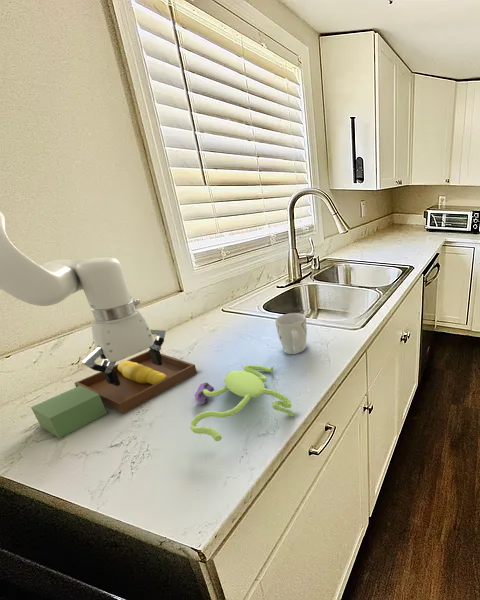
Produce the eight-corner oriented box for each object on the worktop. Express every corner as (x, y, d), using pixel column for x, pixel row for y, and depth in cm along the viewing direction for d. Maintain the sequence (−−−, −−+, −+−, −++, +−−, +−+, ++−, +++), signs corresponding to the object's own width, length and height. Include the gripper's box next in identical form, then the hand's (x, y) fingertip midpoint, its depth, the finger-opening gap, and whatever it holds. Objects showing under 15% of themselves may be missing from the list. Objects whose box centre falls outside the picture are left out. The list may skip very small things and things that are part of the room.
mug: (314, 356, 93) (310, 325, 89) (283, 364, 90) (278, 331, 86) (306, 339, 103) (302, 310, 99) (278, 346, 99) (273, 316, 96)
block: (40, 426, 68) (30, 407, 66) (87, 403, 75) (79, 385, 73) (59, 438, 65) (49, 418, 63) (106, 413, 72) (99, 394, 70)
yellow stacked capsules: (110, 375, 84) (108, 360, 83) (129, 368, 88) (127, 355, 87) (151, 392, 77) (149, 376, 76) (170, 384, 81) (168, 369, 80)
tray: (78, 392, 79) (74, 383, 78) (153, 357, 94) (150, 349, 93) (123, 413, 72) (119, 404, 71) (197, 372, 86) (194, 364, 85)
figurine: (197, 464, 59) (189, 440, 57) (192, 388, 80) (187, 369, 78) (299, 424, 68) (295, 402, 66) (271, 365, 89) (267, 347, 87)
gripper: (145, 296, 84) (163, 354, 90) (58, 323, 70) (87, 389, 76) (163, 300, 81) (181, 360, 88) (76, 329, 67) (105, 397, 73)
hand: (137, 373), depth 82 cm, fingers open, 9 cm apart
